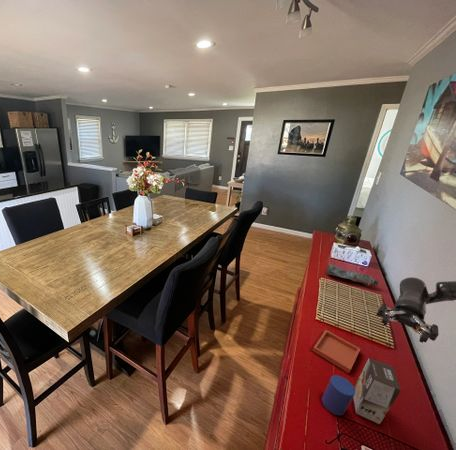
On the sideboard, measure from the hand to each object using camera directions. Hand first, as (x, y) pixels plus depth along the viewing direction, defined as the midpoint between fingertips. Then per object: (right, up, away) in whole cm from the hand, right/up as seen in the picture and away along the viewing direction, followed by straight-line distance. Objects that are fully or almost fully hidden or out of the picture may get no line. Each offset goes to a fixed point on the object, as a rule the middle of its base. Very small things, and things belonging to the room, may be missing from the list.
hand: (403, 331), depth 76 cm
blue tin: (-20, -26, +3) cm, 33 cm away
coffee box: (-9, -27, +3) cm, 28 cm away
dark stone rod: (+40, 0, +71) cm, 81 cm away
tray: (-5, -18, +23) cm, 30 cm away
